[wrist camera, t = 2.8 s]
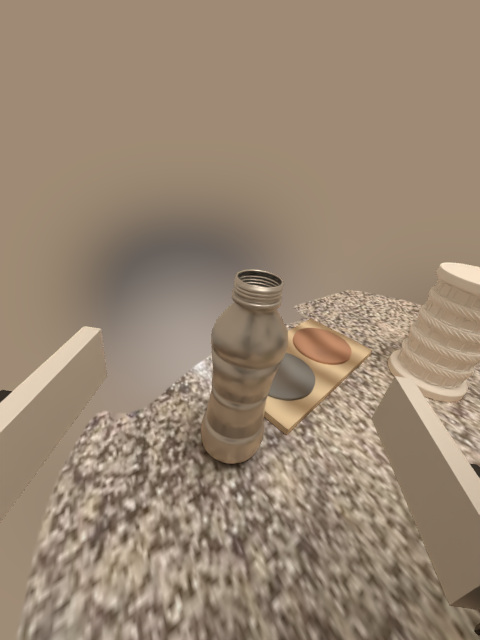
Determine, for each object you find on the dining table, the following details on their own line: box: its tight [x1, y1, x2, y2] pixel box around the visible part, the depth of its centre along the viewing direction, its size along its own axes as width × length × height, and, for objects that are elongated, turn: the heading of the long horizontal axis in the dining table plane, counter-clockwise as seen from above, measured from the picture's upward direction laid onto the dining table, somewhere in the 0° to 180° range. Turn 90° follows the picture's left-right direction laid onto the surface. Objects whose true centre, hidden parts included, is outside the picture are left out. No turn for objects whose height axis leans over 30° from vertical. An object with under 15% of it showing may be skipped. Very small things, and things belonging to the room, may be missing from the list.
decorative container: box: [387, 262, 480, 402], centre depth 42 cm, size 12×12×18 cm
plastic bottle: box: [201, 270, 288, 464], centre depth 26 cm, size 6×7×20 cm
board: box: [264, 319, 372, 435], centre depth 45 cm, size 26×13×2 cm, turn 136°
